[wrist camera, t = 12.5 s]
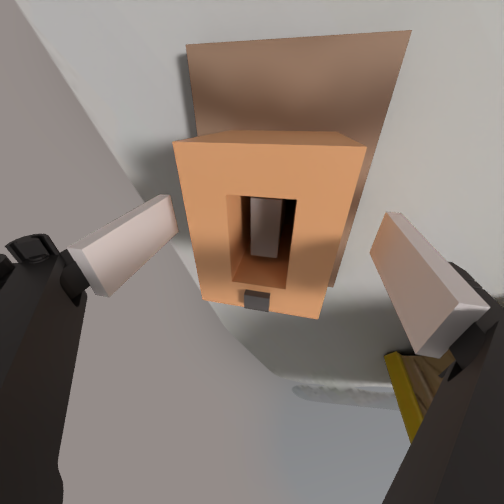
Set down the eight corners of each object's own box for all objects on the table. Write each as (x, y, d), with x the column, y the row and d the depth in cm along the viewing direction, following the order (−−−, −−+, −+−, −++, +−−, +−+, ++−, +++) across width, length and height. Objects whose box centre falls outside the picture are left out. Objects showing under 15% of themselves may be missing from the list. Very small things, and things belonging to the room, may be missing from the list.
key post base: (195, 50, 15) (104, -5, 8) (401, 38, 13) (516, -53, 6) (219, 263, 26) (188, 315, 19) (331, 278, 24) (342, 344, 17)
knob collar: (231, 130, 16) (165, 142, 9) (336, 131, 15) (370, 148, 7) (236, 238, 22) (199, 305, 14) (313, 246, 20) (318, 326, 13)
